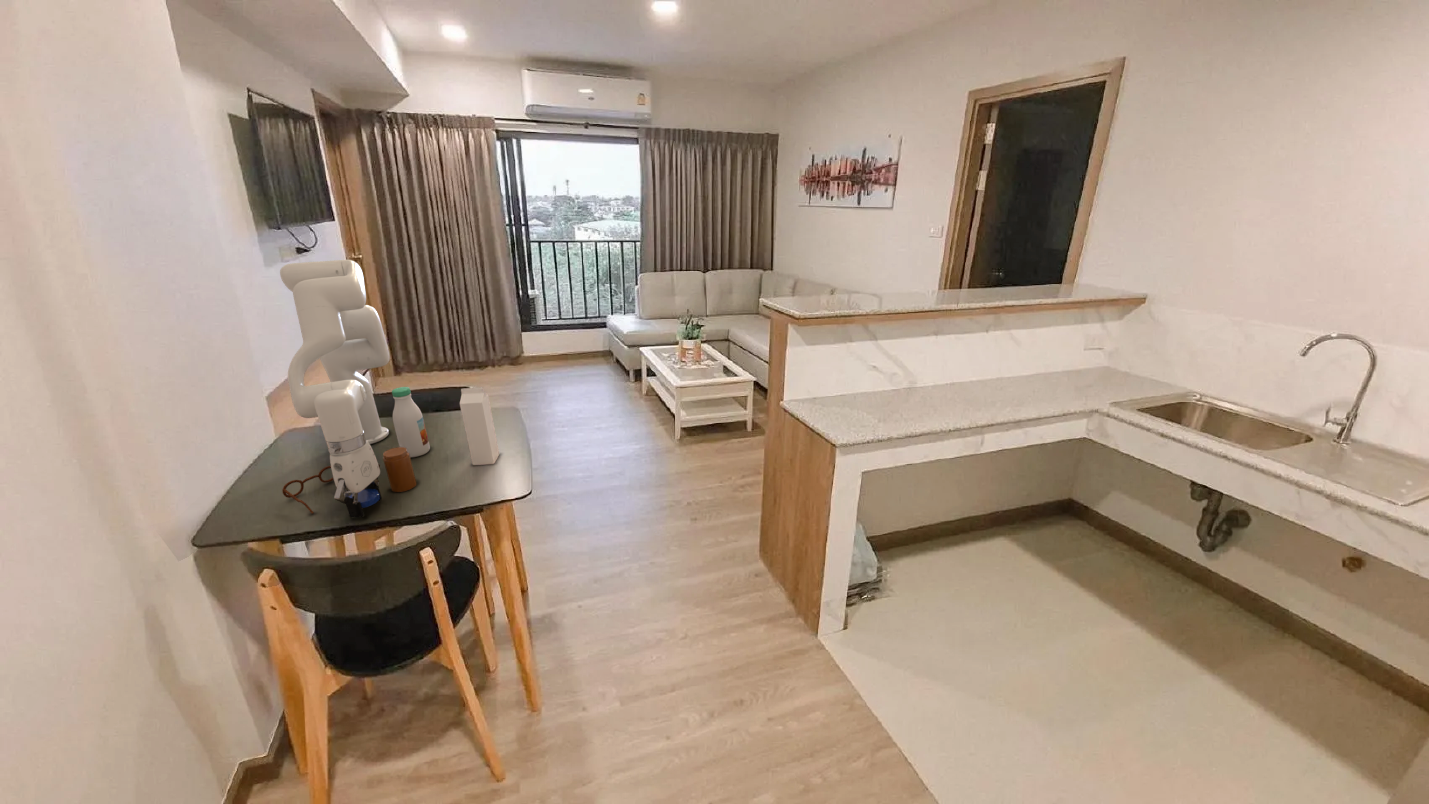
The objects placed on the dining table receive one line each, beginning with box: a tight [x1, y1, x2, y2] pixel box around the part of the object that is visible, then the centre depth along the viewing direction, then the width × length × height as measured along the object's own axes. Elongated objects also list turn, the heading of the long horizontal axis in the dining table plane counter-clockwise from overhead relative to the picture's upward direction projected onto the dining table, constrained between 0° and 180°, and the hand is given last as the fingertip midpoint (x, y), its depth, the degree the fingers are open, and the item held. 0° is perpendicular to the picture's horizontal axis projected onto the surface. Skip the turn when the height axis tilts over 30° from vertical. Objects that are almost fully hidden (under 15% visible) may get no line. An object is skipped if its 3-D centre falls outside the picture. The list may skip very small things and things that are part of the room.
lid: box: [349, 489, 380, 509], centre depth 135 cm, size 7×7×2 cm
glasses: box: [281, 465, 365, 515], centre depth 142 cm, size 13×13×5 cm
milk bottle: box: [391, 386, 431, 458], centre depth 161 cm, size 8×8×20 cm
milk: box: [459, 387, 500, 466], centre depth 155 cm, size 6×6×22 cm
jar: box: [382, 446, 418, 493], centre depth 144 cm, size 6×6×10 cm
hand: (366, 507), depth 136 cm, fingers closed on lid, 6 cm apart
